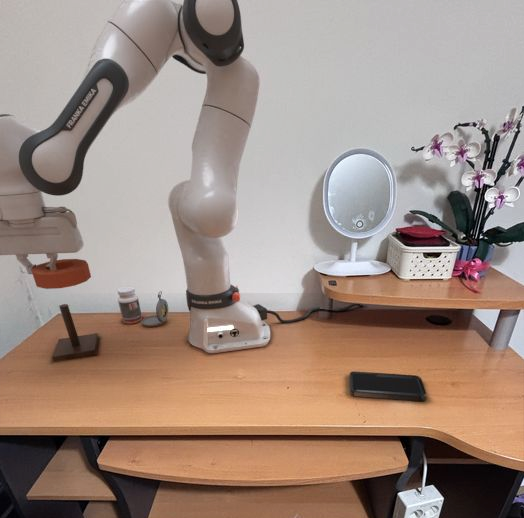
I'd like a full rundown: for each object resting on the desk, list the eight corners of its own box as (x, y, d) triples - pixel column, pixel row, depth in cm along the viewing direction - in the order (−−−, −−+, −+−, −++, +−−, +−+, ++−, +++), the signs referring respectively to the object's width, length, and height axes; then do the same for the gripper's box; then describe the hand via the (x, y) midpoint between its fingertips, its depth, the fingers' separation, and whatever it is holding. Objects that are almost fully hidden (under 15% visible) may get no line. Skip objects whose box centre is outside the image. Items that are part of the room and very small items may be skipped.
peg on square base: (99, 337, 105) (87, 295, 99) (95, 355, 97) (82, 310, 90) (60, 343, 103) (45, 301, 96) (53, 361, 94) (37, 316, 88)
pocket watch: (140, 320, 114) (133, 289, 109) (168, 315, 117) (163, 284, 112) (144, 331, 107) (137, 299, 102) (173, 325, 110) (168, 293, 105)
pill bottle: (146, 319, 115) (139, 288, 110) (129, 325, 111) (122, 294, 106) (135, 314, 118) (129, 284, 113) (119, 320, 114) (111, 289, 109)
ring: (97, 271, 90) (94, 258, 88) (79, 287, 80) (75, 273, 79) (49, 272, 90) (45, 259, 88) (26, 289, 80) (21, 275, 78)
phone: (427, 397, 75) (350, 391, 78) (426, 401, 76) (350, 395, 78) (420, 375, 82) (349, 370, 84) (419, 379, 82) (349, 374, 85)
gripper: (78, 203, 80) (94, 267, 87) (-19, 206, 80) (5, 270, 87) (66, 208, 75) (84, 276, 82) (-39, 212, 74) (-12, 279, 81)
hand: (42, 273), depth 84 cm, fingers closed on ring, 3 cm apart
